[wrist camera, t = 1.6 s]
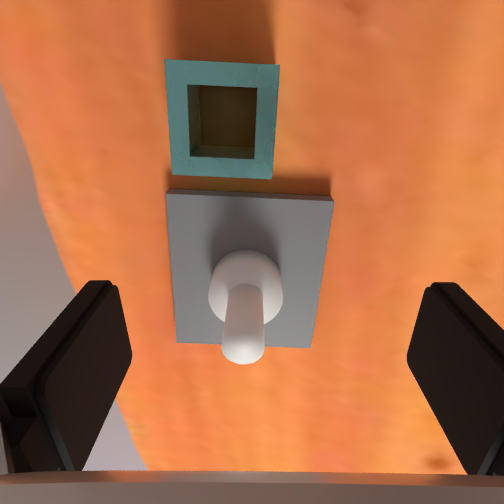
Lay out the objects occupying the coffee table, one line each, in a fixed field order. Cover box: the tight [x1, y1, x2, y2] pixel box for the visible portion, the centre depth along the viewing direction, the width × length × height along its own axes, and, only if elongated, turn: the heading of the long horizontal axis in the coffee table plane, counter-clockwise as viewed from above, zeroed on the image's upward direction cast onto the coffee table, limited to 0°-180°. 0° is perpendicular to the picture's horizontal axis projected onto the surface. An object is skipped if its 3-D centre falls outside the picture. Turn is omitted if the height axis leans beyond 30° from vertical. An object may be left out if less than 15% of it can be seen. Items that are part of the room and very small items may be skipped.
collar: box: [164, 59, 280, 179], centre depth 24 cm, size 7×7×5 cm
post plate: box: [165, 189, 334, 364], centre depth 28 cm, size 16×14×10 cm
